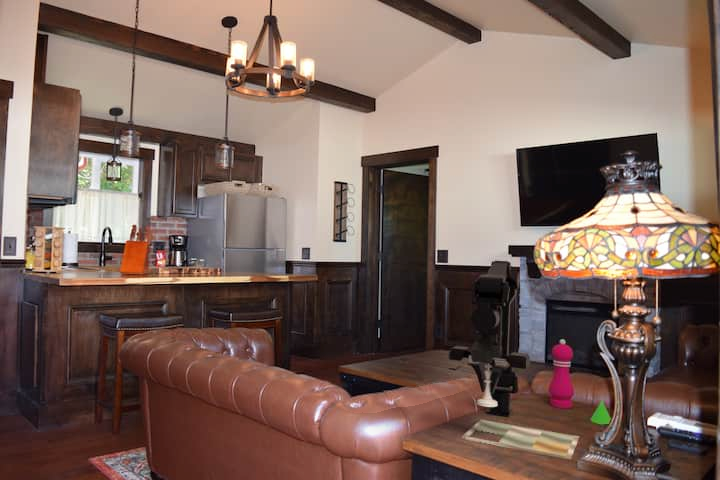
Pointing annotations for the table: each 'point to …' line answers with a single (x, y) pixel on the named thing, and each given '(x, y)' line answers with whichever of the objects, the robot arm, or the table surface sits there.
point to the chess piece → (487, 391)
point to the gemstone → (601, 415)
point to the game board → (527, 439)
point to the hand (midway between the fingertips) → (487, 392)
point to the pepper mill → (561, 377)
